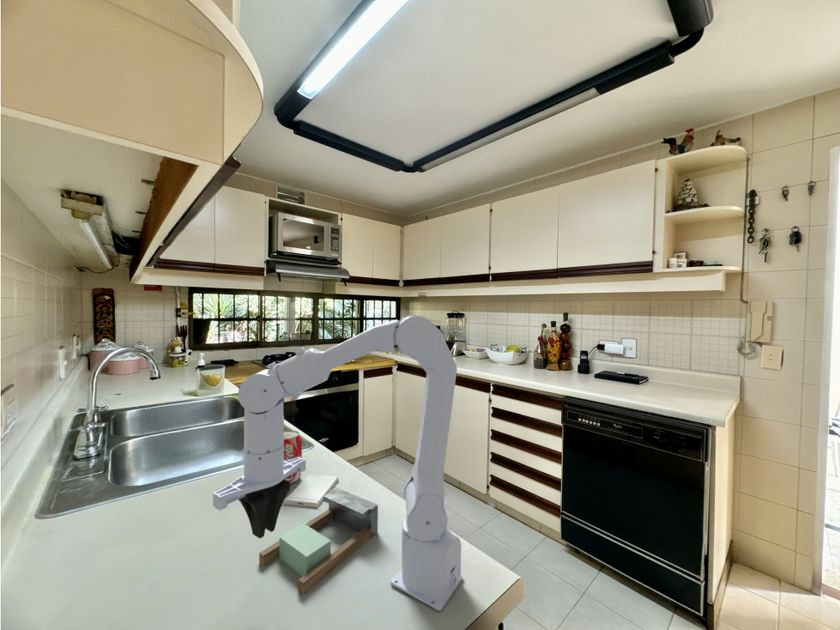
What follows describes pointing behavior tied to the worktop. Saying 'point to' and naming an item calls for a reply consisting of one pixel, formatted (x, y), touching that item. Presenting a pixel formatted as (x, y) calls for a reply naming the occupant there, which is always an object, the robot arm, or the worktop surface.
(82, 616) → the worktop surface
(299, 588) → the guide bay
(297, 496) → the hard drive
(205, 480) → the worktop surface
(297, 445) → the soda can
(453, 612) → the worktop surface
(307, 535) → the sage block
